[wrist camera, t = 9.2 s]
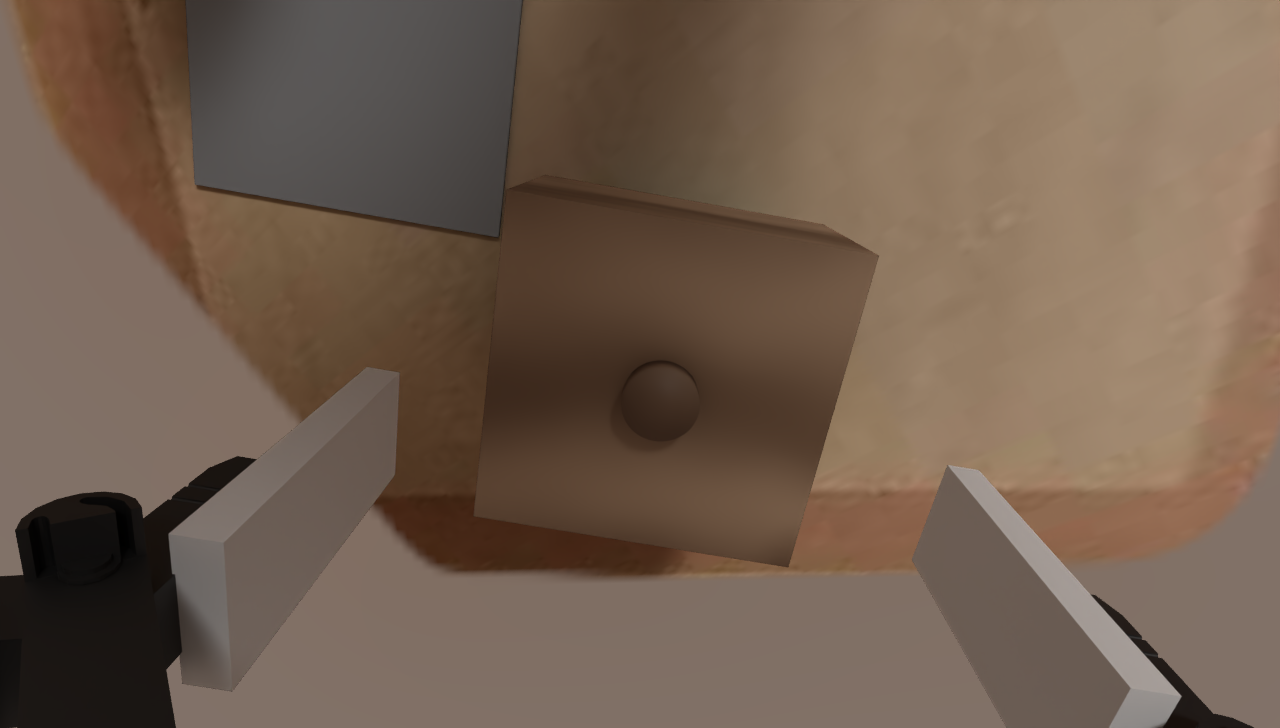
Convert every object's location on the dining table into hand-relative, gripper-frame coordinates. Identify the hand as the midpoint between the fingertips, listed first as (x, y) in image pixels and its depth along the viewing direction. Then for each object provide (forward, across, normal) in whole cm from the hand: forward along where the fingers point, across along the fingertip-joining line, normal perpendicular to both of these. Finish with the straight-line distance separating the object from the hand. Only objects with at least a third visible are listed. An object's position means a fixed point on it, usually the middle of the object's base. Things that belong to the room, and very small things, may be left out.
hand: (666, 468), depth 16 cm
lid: (+12, 0, -1) cm, 12 cm away
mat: (+17, -15, +8) cm, 24 cm away
